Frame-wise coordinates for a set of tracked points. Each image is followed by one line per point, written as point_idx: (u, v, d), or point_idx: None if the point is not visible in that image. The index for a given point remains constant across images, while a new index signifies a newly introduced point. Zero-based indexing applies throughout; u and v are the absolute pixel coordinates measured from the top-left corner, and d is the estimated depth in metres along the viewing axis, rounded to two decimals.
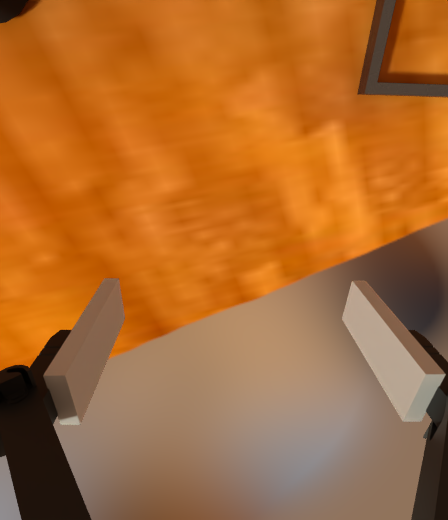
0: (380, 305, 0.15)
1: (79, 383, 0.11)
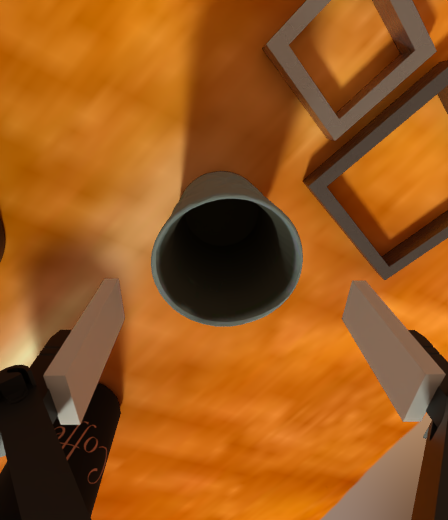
0: (380, 305, 0.15)
1: (79, 383, 0.11)
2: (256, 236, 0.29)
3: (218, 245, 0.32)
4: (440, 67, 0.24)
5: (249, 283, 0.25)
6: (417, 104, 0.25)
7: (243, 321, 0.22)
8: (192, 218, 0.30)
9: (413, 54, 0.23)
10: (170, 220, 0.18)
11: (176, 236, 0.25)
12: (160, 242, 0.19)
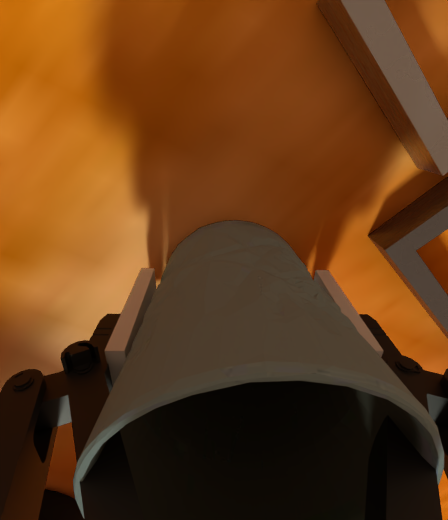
0: (337, 291, 0.15)
1: None
2: None
3: None
4: None
5: (289, 445, 0.13)
6: None
7: None
8: None
9: None
10: (111, 428, 0.07)
11: None
12: (92, 460, 0.08)
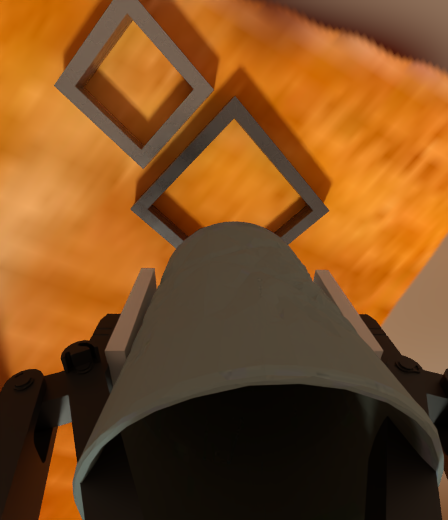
0: (337, 291, 0.16)
1: None
2: None
3: None
4: (228, 102, 0.27)
5: (288, 446, 0.13)
6: (210, 135, 0.27)
7: None
8: None
9: (193, 92, 0.25)
10: (110, 431, 0.07)
11: None
12: (92, 462, 0.08)
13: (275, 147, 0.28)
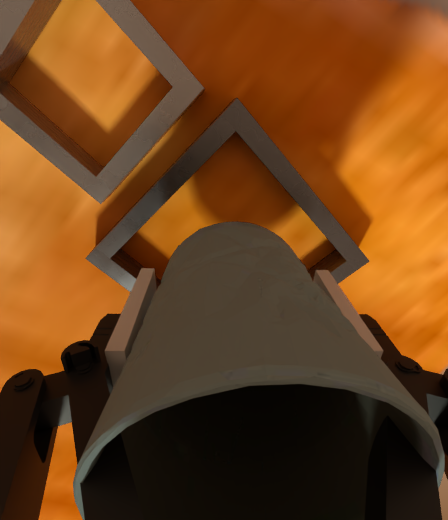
0: (337, 291, 0.16)
1: None
2: None
3: None
4: (227, 107, 0.18)
5: (289, 447, 0.13)
6: (198, 157, 0.18)
7: None
8: None
9: (171, 92, 0.16)
10: (111, 431, 0.07)
11: None
12: (93, 463, 0.08)
13: (296, 174, 0.19)
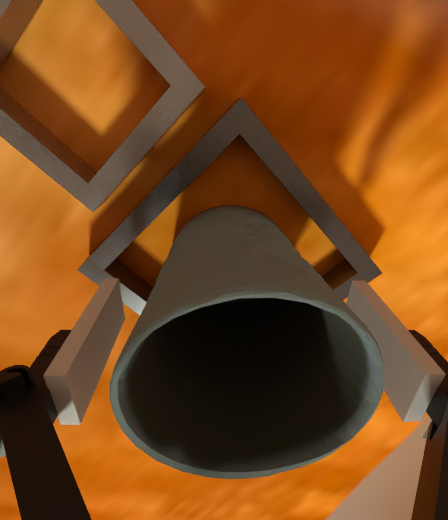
0: (380, 305, 0.15)
1: (79, 383, 0.11)
2: None
3: (226, 303, 0.23)
4: (230, 108, 0.16)
5: (275, 387, 0.16)
6: (199, 162, 0.17)
7: (271, 471, 0.13)
8: None
9: (169, 91, 0.15)
10: (141, 335, 0.09)
11: None
12: (125, 366, 0.10)
13: (305, 181, 0.17)
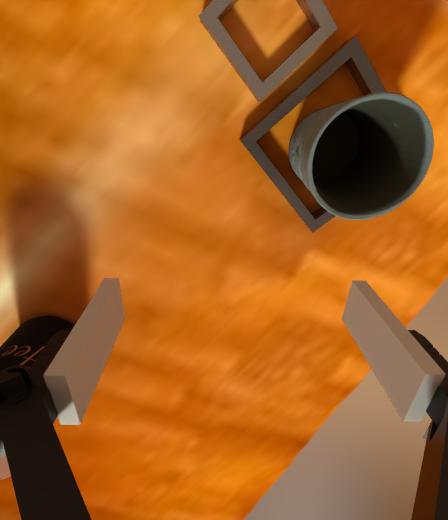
0: (380, 305, 0.15)
1: (79, 383, 0.11)
2: (357, 167, 0.34)
3: (317, 179, 0.36)
4: (345, 43, 0.30)
5: (364, 194, 0.29)
6: (326, 72, 0.30)
7: (369, 215, 0.26)
8: None
9: (319, 30, 0.28)
10: (336, 113, 0.23)
11: None
12: (321, 134, 0.24)
13: (382, 88, 0.31)
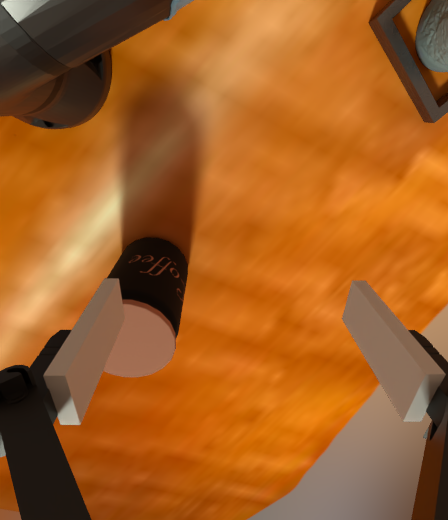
0: (380, 305, 0.15)
1: (79, 383, 0.11)
2: None
3: None
4: None
5: None
6: None
7: None
8: None
9: None
10: None
11: None
12: None
13: None
